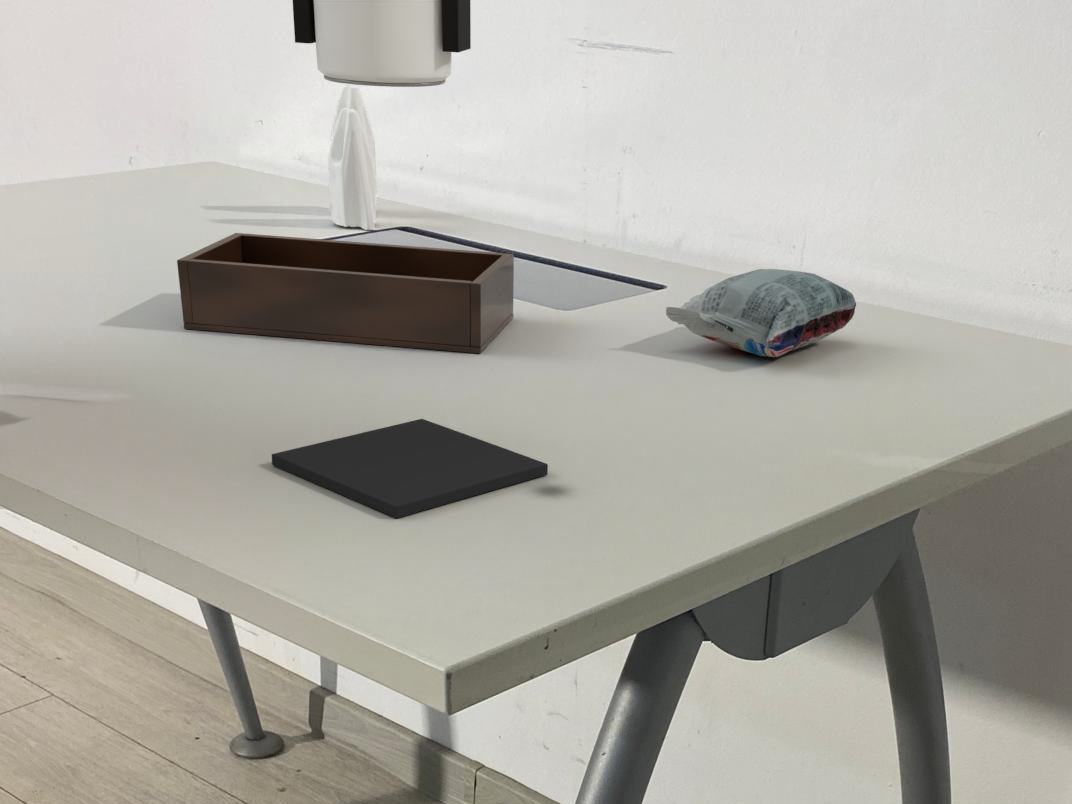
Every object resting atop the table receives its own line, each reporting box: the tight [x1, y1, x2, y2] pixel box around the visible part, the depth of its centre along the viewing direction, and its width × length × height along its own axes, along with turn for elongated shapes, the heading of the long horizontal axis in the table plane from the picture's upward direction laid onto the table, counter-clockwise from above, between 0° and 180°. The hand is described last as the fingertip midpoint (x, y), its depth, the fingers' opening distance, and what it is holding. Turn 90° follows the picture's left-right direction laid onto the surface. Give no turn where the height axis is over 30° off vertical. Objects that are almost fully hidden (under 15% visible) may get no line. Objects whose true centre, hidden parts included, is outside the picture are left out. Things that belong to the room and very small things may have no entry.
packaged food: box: [665, 268, 857, 358], centre depth 97 cm, size 9×12×5 cm
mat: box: [271, 418, 549, 519], centre depth 73 cm, size 10×10×1 cm
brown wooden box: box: [176, 232, 515, 354], centre depth 98 cm, size 20×10×4 cm, turn 81°
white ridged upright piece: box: [327, 84, 379, 231], centre depth 131 cm, size 12×4×11 cm, turn 6°
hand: (383, 44), depth 69 cm, fingers closed on can, 6 cm apart
